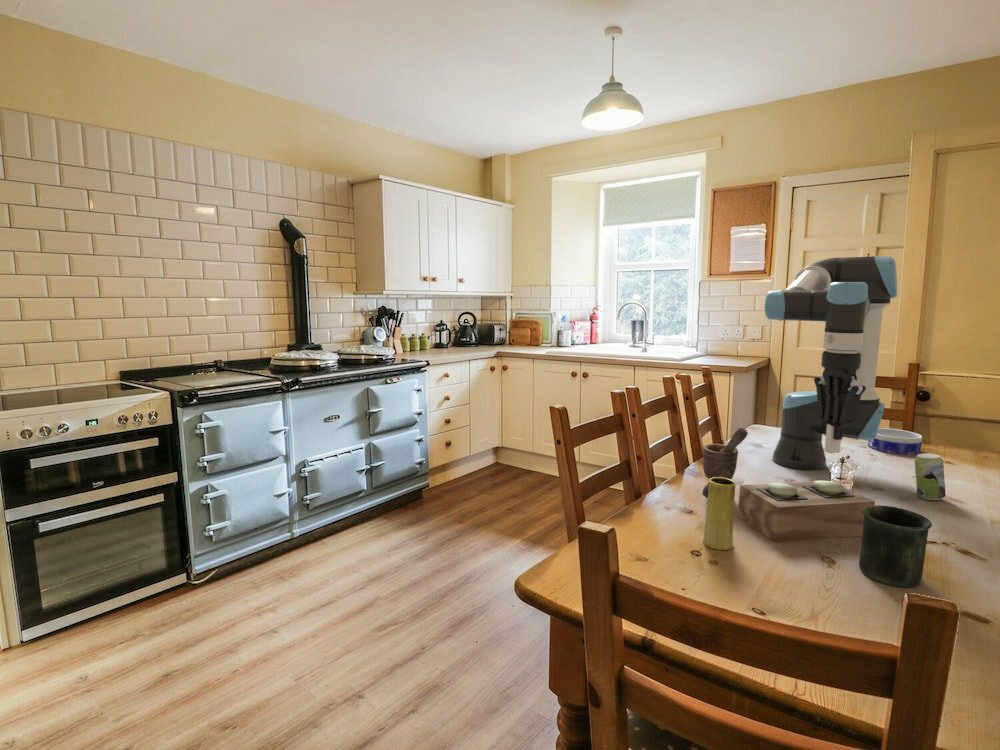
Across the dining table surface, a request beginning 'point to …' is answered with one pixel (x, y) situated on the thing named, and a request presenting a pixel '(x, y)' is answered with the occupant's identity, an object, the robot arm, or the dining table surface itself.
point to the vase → (719, 514)
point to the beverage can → (930, 476)
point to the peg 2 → (828, 487)
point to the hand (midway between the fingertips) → (832, 451)
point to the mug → (893, 545)
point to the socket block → (802, 512)
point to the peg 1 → (782, 490)
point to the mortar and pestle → (722, 458)
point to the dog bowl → (896, 442)
